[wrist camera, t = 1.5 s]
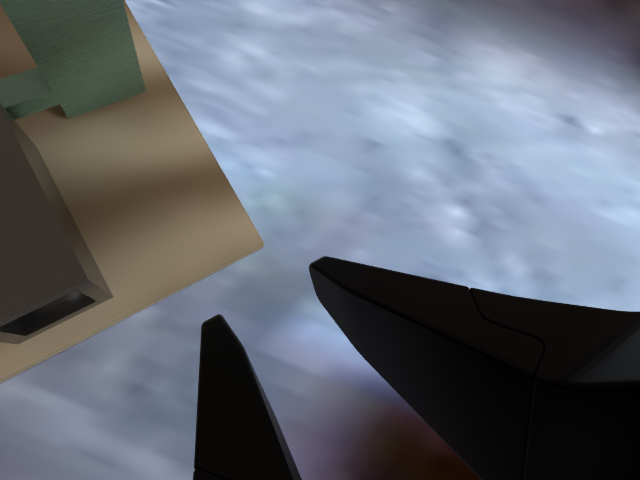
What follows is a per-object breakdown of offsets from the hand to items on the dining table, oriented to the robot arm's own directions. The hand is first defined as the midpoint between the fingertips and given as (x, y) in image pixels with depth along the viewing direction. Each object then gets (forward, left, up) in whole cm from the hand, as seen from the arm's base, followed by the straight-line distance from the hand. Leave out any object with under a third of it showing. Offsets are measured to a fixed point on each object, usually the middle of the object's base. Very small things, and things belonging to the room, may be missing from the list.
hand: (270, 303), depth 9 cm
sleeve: (+4, +10, -13) cm, 17 cm away
